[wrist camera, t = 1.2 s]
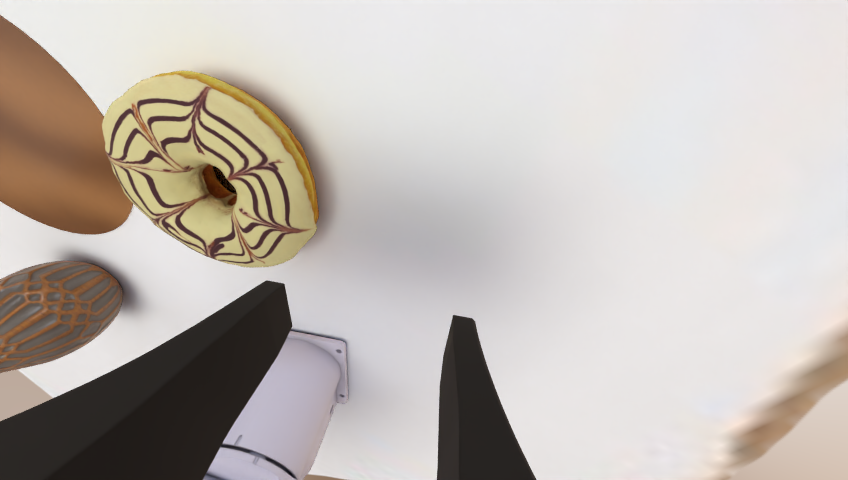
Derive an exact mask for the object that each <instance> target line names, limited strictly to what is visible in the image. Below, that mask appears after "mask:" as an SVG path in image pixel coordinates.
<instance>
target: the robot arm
mask: <svg viewBox="0 0 848 480" xmlns="http://www.w3.org/2000/svg"><path fill="white" fill-rule="evenodd" d="M291 328H292V322H291V316H290V311H289V306H288V301H287V295H286V290H285V285H284V284H283V283H277V282H272V281H265V282H263V283H262V284H260V285H258V286H257V287H255V288H254V289H252V290H250V291H249V292H247V293H246V294H244V295H242V296H241V297H239V298H238V299H236V300H235V301H233V302H232V303H230V304H228V305H227V306H225V307H224V308H222V309H220V310H219V311H217V312H216V313H214V314H212V315H211V316H209V317H208V318H206V319H204V320H203V321H201V322H199V323H198V324H196V325H195V326H193V327H191V328H189V329H188V330H186V331H184V332H182V333H181V334H179V335H177V336H175V337H174V338H172V339H170V340H169V341H167V342H165V343H163V344H162V345H160V346H158V347H156V348H155V349H153V350H151V351H149V352H147V353H146V354H144V355H142V356H140V357H138V358H136V359H134V360H132V361H130V362H129V363H127V364H125V365H123V366H121V367H119V368H117V369H115V370H113V371H111V372H109V373H107V374H105V375H103V376H101V377H99V378H97V379H95V380H92V381H90V382H88V383H86V384H84V385H82V386H80V387H77V388H75V389H73V390H71V391H68V392H66V393H64V394H62V395H60V396H57V397H55V398H53V399H51V400H49V401H46V402H44V403H42V404H40V405H38V406H35V407H33V408H31V409H29V410H26V411H24V412H22V413H19V414H17V415H15V416H12V417H10V418H7V419H5V420H2V421H0V480H303V479H304V478H305V476H306V475H307V474H308V472H309V471H310V469H311V467H312V465H313V463H314V461H315V458H316V456H317V453H318V450H319V448H320V445H321V442H322V440H323V437H324V435H325V432H326V429H327V427H328V424H329V422H330V419H331V416H332V414H333V411H334V409H335V406H336V403H342V404H345V403H347V401H348V382H347V360H346V344H345V343H344V342H343V341H341V340H336V339H330V338H325V337H320V336H315V335H310V334H305V333H299V332H294V331H290V330H291ZM437 480H536V478H535V476H534V474H533V472H532V470H531V468H530V466H529V464H528V462H527V460H526V458H525V456H524V454H523V452H522V450H521V448H520V446H519V444H518V441H517V439H516V437H515V435H514V433H513V430H512V428H511V426H510V424H509V421H508V419H507V417H506V414H505V412H504V409H503V407H502V405H501V402H500V400H499V397H498V395H497V392H496V389H495V386H494V384H493V381H492V378H491V376H490V373H489V370H488V367H487V364H486V361H485V358H484V355H483V351H482V348H481V344H480V341H479V337H478V333H477V329H476V324H475V321H474V320H473V319H472V318H467V317H461V316H456V315H453V319H452V323H451V327H450V331H449V335H448V339H447V343H446V347H445V352H444V356H443V364H442V373H441V381H440V397H439V436H438V471H437Z"/></svg>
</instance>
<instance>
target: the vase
mask: <svg viewBox="0 0 848 480" xmlns="http://www.w3.org/2000/svg"><path fill="white" fill-rule="evenodd" d="M122 297H123V294H122V288H121V286H120V284H119V283H118V281H117V280H116V279H115V278H114V277H113V276H112V275H111V274H109V273H108V272H107V271H105V270H103V269H102V268H100V267H98V266H96V265H93V264H90V263H85V262H77V261H55V262H49V263H43V264H39V265H35V266H32V267H28V268H25V269H22V270H20V271H17V272H15V273H13V274H11V275H8V276H6V277H4V278H2V279H0V373H2V372H6V371H11V370H16V369H21V368H25V367H30V366H34V365H38V364H43V363H46V362H50V361H53V360H56V359H58V358H61V357H63V356H65V355H68V354H70V353H72V352H74V351H76V350H78V349H79V348H81V347H83V346H84V345H86V344H88V343H89V342H91V341H92V340H93V339H95V338H96V337H97V336H98V335H100V334H101V333H102V332H103V331H104V330H105V329H106V328H107V327H108V326H109V325H110V324H111V323H112V322H113V320H114V319H115V317H116V316H117V314H118V313H119V311H120V308H121V305H122Z"/></svg>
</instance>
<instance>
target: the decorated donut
mask: <svg viewBox="0 0 848 480" xmlns="http://www.w3.org/2000/svg"><path fill="white" fill-rule="evenodd" d="M102 130H103V135H104V140H105V151H106V154H107V157H108V158H109V160H110V162H111V165H112V169H113V172H114V174H115V175H116V177H117V179H118V180H119V182H120V184H121V186H122V189H123V191H124V193H125V195H126V196H127V197H128V198H129V199H130V201H131V202H132V203H133V204H134V205H135V206H136V207H137V208H138V209H139V210H141V211H142V212H143V213H144V214H145V215H146V216H147V217H148V218H149V219H150V220H151V221H152V222H153V223H154V224H155V225H156V226H157V227H158V228H160V229H161V230H163V231H164V232H165V233H167V234H169V235H170V236H172V237H174V238H175V239H177V240H178V241H180V242H181V243H183V244H185V245H186V246H188V247H189V248H191V249H193V250H195V251H197V252H199V253H201V254H203V255H205V256H207V257H210V258H213V259H215V260H219V261H221V262H225V263H228V264H234V265H238V266H242V267H269V266H274V265H278V264H281V263H284V262H286V261H288V260H290V259H292V258H293V257H294V256H295V255H296V254H297V253H298V251H299V250H300V249H301V248H302V247H303V246H304V245H305V244H306V243H307V242H308V240H309V239H311V238H312V236H313V235H314V234H315V232H316V230H317V226H316V223H317V220H318V217H319V210H318V204H317V195H316V188H315V181H314V178H313V175H312V172H311V169H310V165H309V163H308V160H307V158H306V155H305V152H304V150H303V148H302V146H301V144H300V143H299V141H298V140H297V139H296V137H295V136H294V135H293V134H292V132H291V129H289V128H288V126H286V125H285V124H284V123H283V122H282V120H280V119H279V117H278V116H277V115H276V114H275V113H273V112H272V111H271V110H270V109H269V108H268V107H267V106H266V105H264V104H263V103H262V102H260V101H259V100H257V99H255V98H254V97H252V96H251V95H249V94H247V93H246V92H244V91H243V90H240V89H238V88H236V87H233V86H231V85H229V84H227V83H225V82H223V81H220V80H218V79H216V78H214V77H211V76H208V75H205V74H201V73H196V72H192V71H176V72H171V73H163V74H159V75H156V76H154V77H151V78H149V79H144V80H141V81H140V82H139V83H137V84H136V85H135V86H133V87H131V88H130V89H128V91H127V92H125V93H124V94H123V96H121V97H120V98H118V99H116V100H115V101H114V102H113V103H112V104H111V105H110V106H109V108H108V111H107V113H106V114H105V116H104V119H103V123H102ZM213 166H215V167H217V168H219V169H220V170H221V171H222V172H223V174H224V175H225V177H226V178H227V180H228V181H229V182H230V183H231V184H232V185H233V186H234V188H235V189H236V192H237V195H236V194H234V193H232V192H230V191H228V190H227V189H226V188H225V187H224V186H223V185H222V184H221V183H220V182H219V181H218V179H217V177H216V175H215V172H214V170H213Z"/></svg>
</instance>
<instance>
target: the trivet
mask: <svg viewBox="0 0 848 480" xmlns="http://www.w3.org/2000/svg"><path fill="white" fill-rule="evenodd" d="M103 119H104V116H103V115H102V114H101V112H100V111H99V109H98V108H97V107H96V105H95V104H94V102H93V101H92V100H91V99H90V97H89V96H88V95H87V94H86V92H85V91H84V90H83V89H82V88H81V86H80V85H79V84H78V83H77V82H76V81H75V79H74V78H73V77H72V76H71V75H70V74H69V73H68V72H67V71H66V70H65V69H64V68H63V67H62V66H61V65H60V64H59V63H58V62H57V61H56V60H55V59H54V58H53V57H52V56H51V55H50V54H49V53H48V52H47V51H46V50H44V49H43V48H42V47H41V46H40V45H39V44H38V43H36V42H35V41H34V40H33V39H31V38H30V37H29V36H28V35H27V34H25V33H24V32H23V31H22V30H20V29H19V28H18V27H16V26H15V25H13V24H12V23H11V22H9V21H8V20H6V19H5V18H3V17H2V16H1V15H0V201H1V202H3V203H4V204H6V205H7V206H9V207H11V208H13V209H15V210H16V211H18V212H20V213H22V214H24V215H26V216H28V217H30V218H32V219H34V220H36V221H38V222H41V223H43V224H46V225H48V226H51V227H54V228H57V229H60V230H64V231H68V232H72V233H79V234H101V233H106V232H109V231H112V230H114V229H116V228H118V227H119V226H121V225H122V224H123V223H124V222H125V221H126V220H127V218H128V216H129V214H130V212H131V209H132V205H133V203H132V202H131V201H130V199H129V198H128V197H127V196H126V195H125V193H124V191H123V189H122V186H121V184H120V182H119V180H118V179H117V177H116V175H115V174H114V172H113V169H112V165H111V162H110V160H109V158H108V157H107V154H106V151H105V140H104V135H103V130H102V123H103Z"/></svg>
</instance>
